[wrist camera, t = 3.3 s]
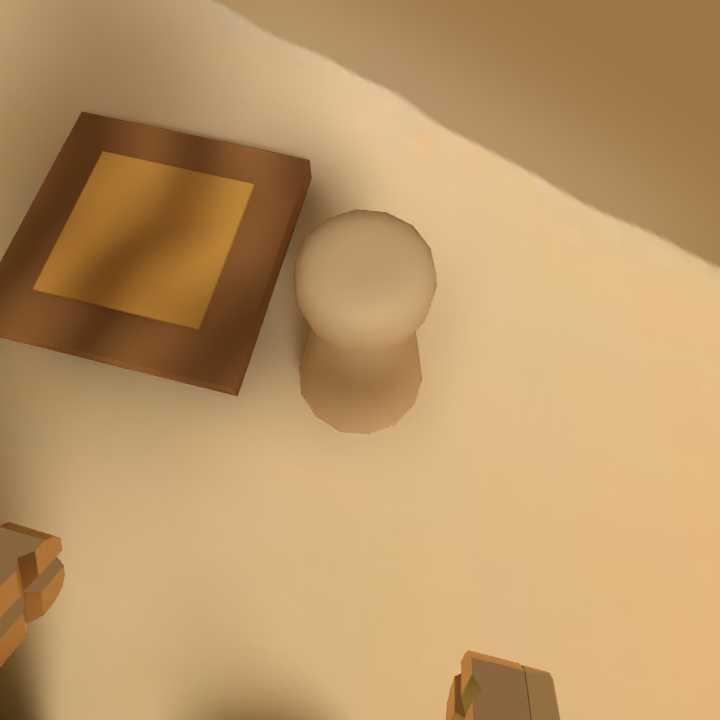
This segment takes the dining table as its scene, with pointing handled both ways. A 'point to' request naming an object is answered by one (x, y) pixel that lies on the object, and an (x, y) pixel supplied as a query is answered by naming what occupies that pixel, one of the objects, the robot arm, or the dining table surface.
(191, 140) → the base board
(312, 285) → the salt shaker
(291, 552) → the dining table surface
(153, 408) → the dining table surface
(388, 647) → the dining table surface
